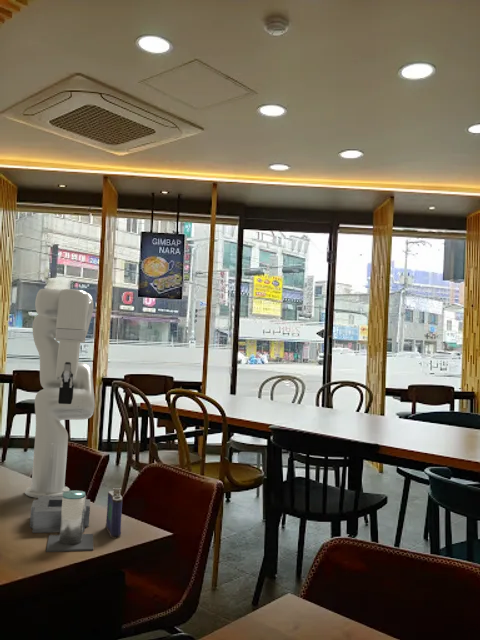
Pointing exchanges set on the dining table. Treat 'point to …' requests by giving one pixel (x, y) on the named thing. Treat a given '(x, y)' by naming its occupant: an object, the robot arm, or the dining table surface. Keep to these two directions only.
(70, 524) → the light piece
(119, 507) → the flask
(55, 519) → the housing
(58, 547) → the mat
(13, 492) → the dining table surface
